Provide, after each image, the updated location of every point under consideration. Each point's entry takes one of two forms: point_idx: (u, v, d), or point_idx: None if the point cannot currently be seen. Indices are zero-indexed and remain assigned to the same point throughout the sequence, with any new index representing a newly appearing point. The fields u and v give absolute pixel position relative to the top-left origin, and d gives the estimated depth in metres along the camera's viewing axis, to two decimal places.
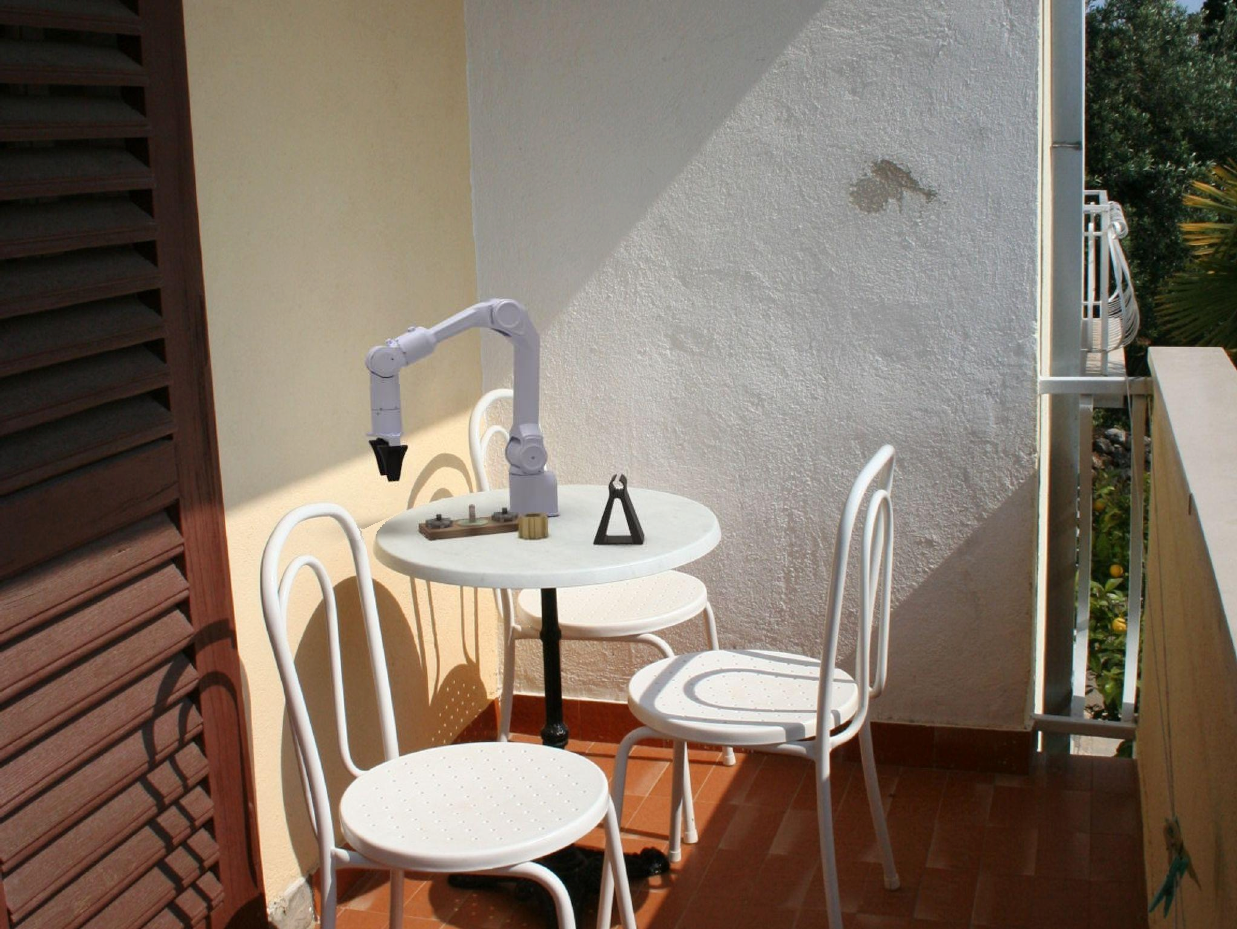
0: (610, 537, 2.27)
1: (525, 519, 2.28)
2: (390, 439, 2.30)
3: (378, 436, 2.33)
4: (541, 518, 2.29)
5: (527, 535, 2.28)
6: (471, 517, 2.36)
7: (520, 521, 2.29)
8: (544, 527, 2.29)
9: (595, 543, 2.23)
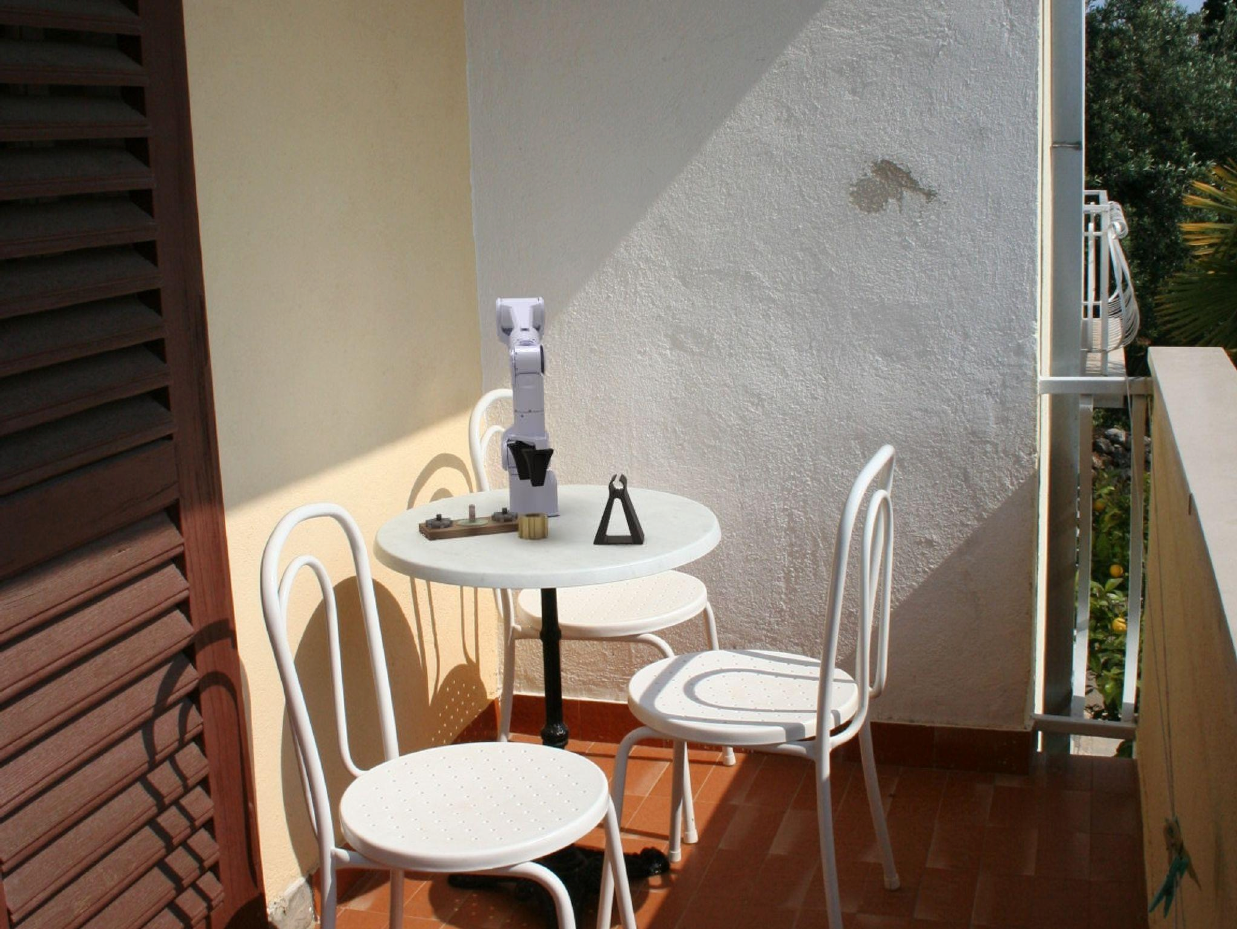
0: (610, 537, 2.27)
1: (525, 519, 2.28)
2: (537, 442, 2.21)
3: (522, 439, 2.24)
4: (541, 518, 2.29)
5: (527, 535, 2.28)
6: (471, 517, 2.36)
7: (520, 521, 2.29)
8: (544, 527, 2.29)
9: (595, 543, 2.23)
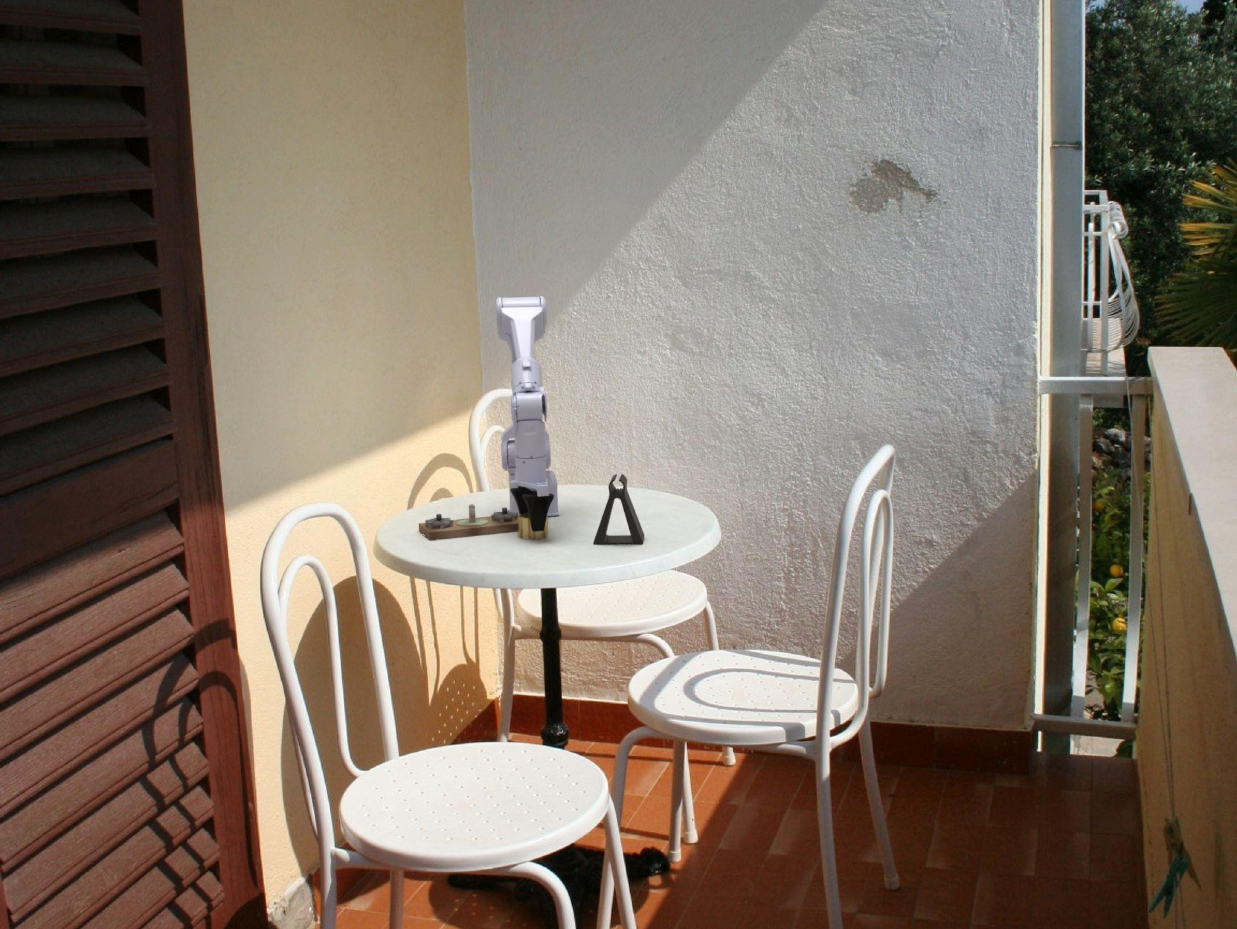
0: (610, 537, 2.27)
1: (525, 519, 2.28)
2: (539, 489, 2.22)
3: (524, 485, 2.26)
4: None
5: (527, 535, 2.28)
6: (471, 517, 2.36)
7: (520, 521, 2.29)
8: None
9: (595, 543, 2.23)
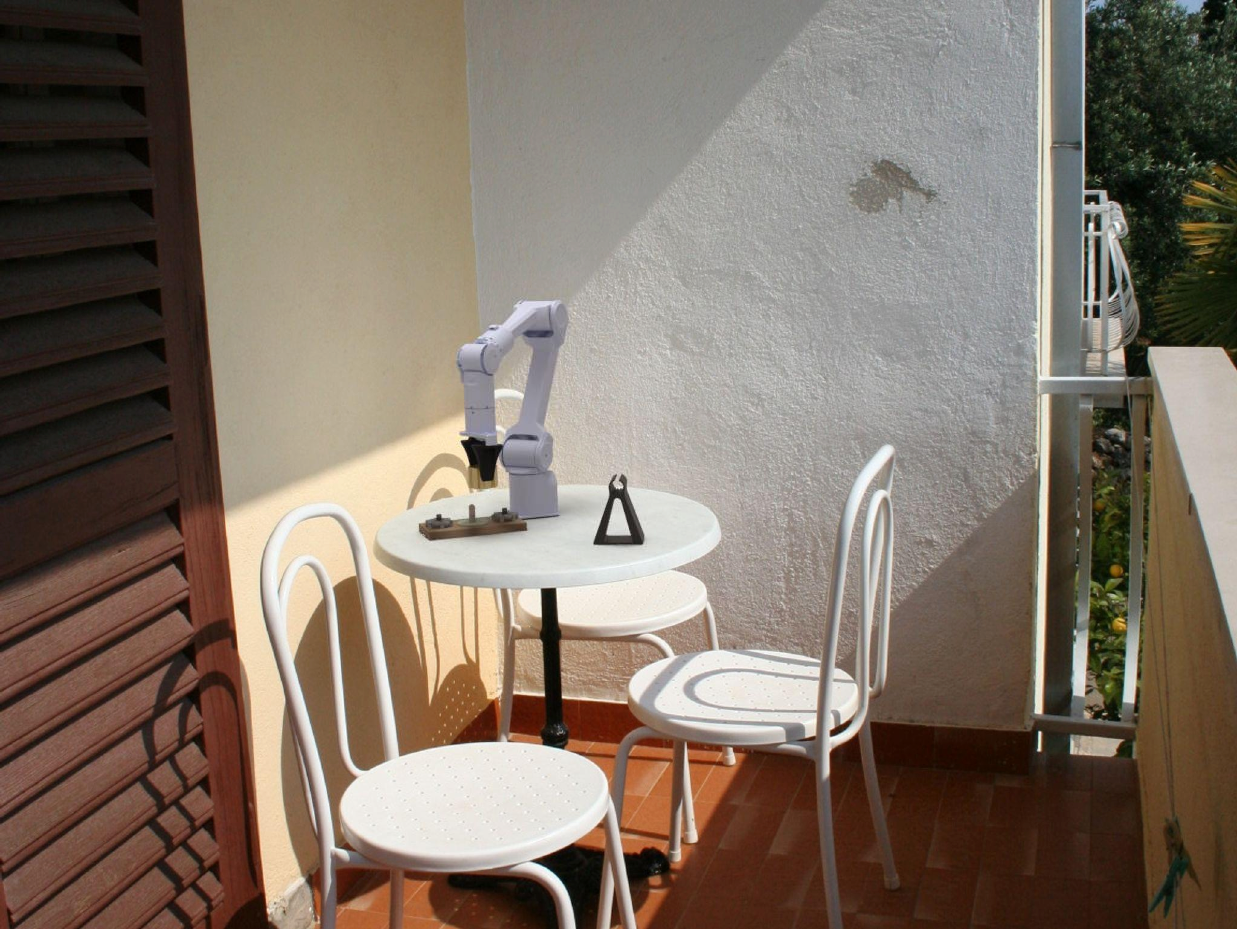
0: (610, 537, 2.27)
1: (474, 469, 2.31)
2: (487, 438, 2.26)
3: (473, 435, 2.29)
4: None
5: (476, 485, 2.31)
6: (471, 517, 2.36)
7: (470, 471, 2.32)
8: None
9: (595, 543, 2.23)
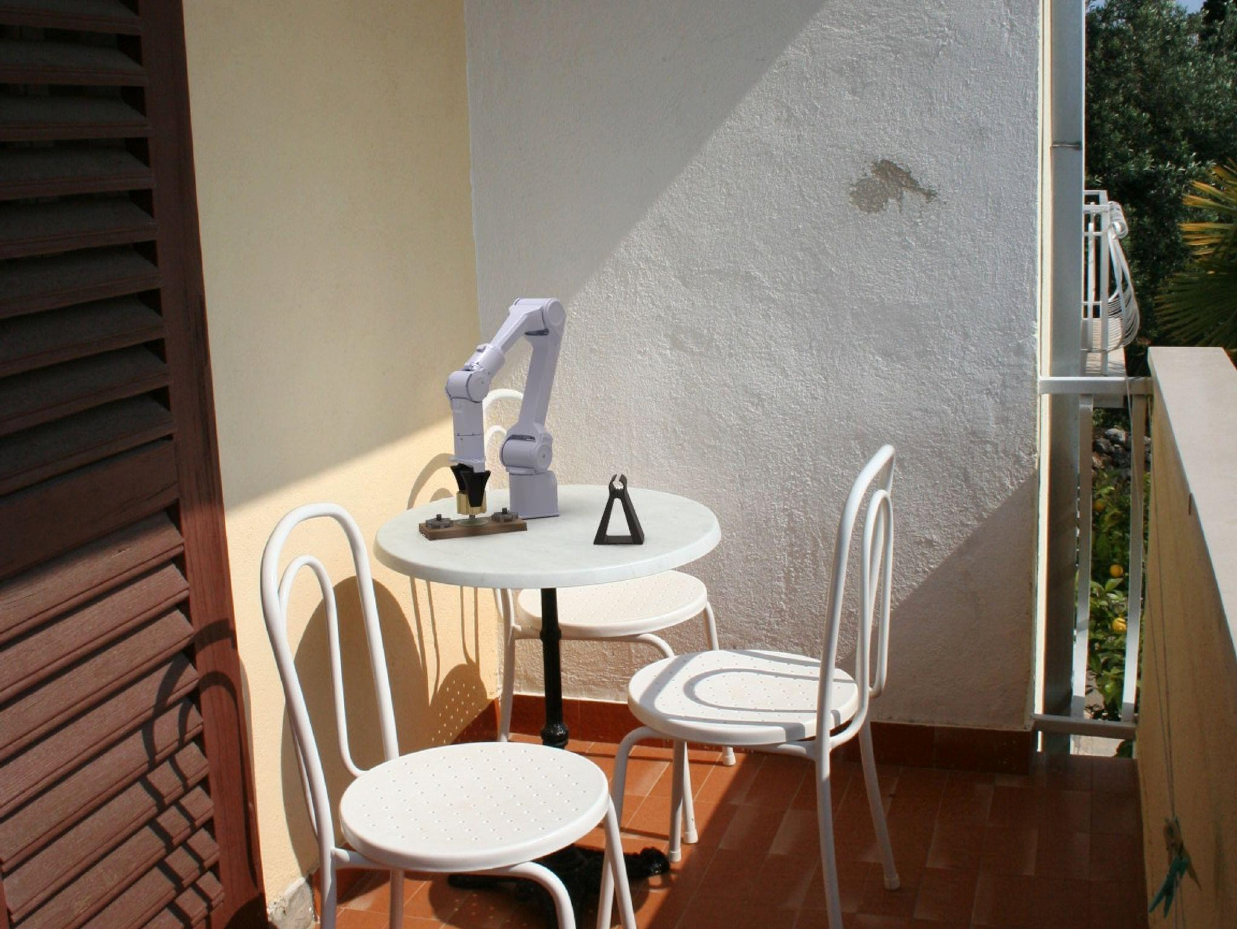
0: (610, 537, 2.27)
1: (463, 495, 2.33)
2: (475, 465, 2.28)
3: (462, 462, 2.31)
4: None
5: (465, 511, 2.33)
6: (471, 517, 2.36)
7: (458, 497, 2.34)
8: (482, 503, 2.34)
9: (595, 543, 2.23)
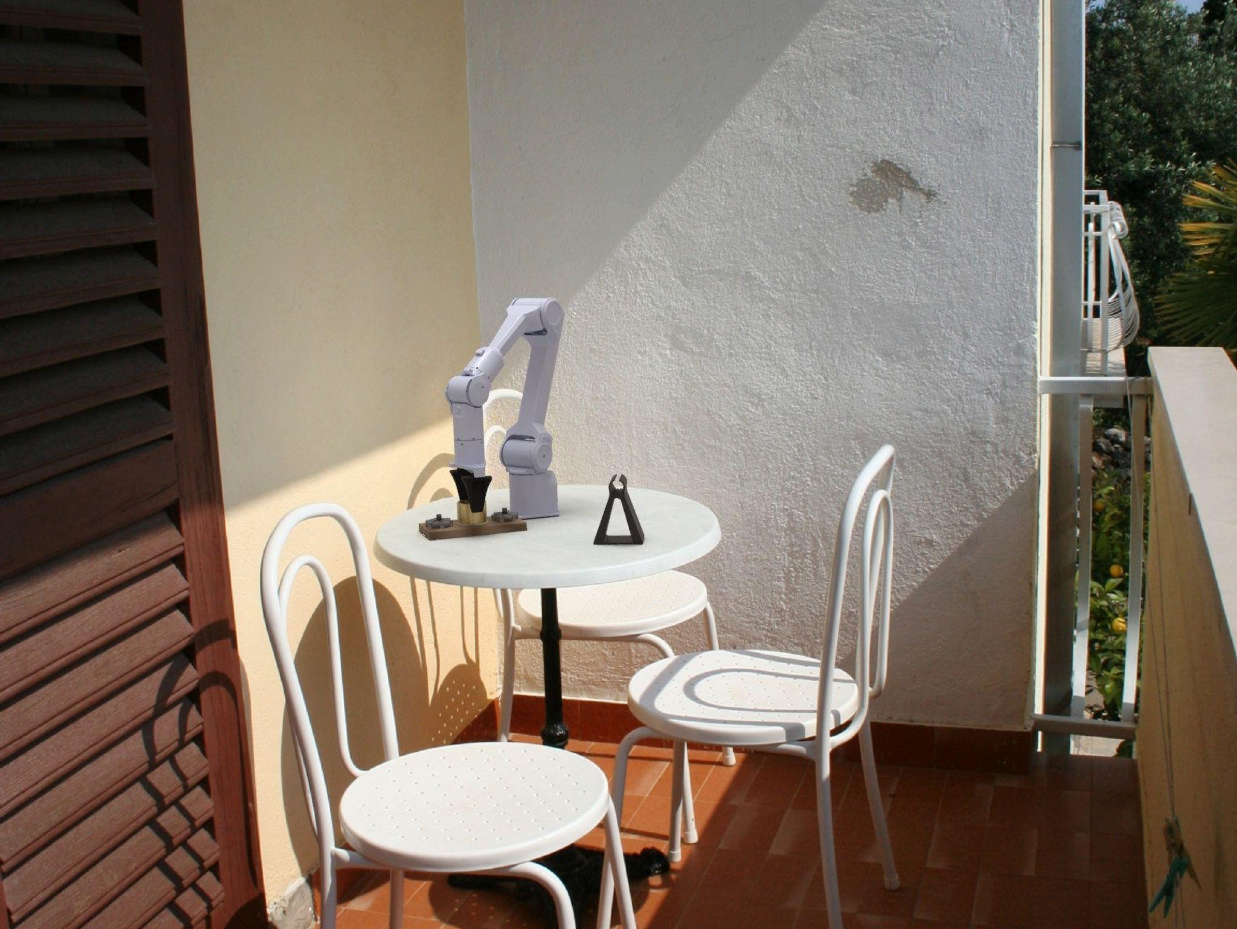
0: (610, 537, 2.27)
1: (463, 505, 2.33)
2: (475, 470, 2.28)
3: (462, 467, 2.31)
4: None
5: (465, 521, 2.34)
6: None
7: (459, 507, 2.35)
8: (482, 513, 2.35)
9: (595, 543, 2.23)
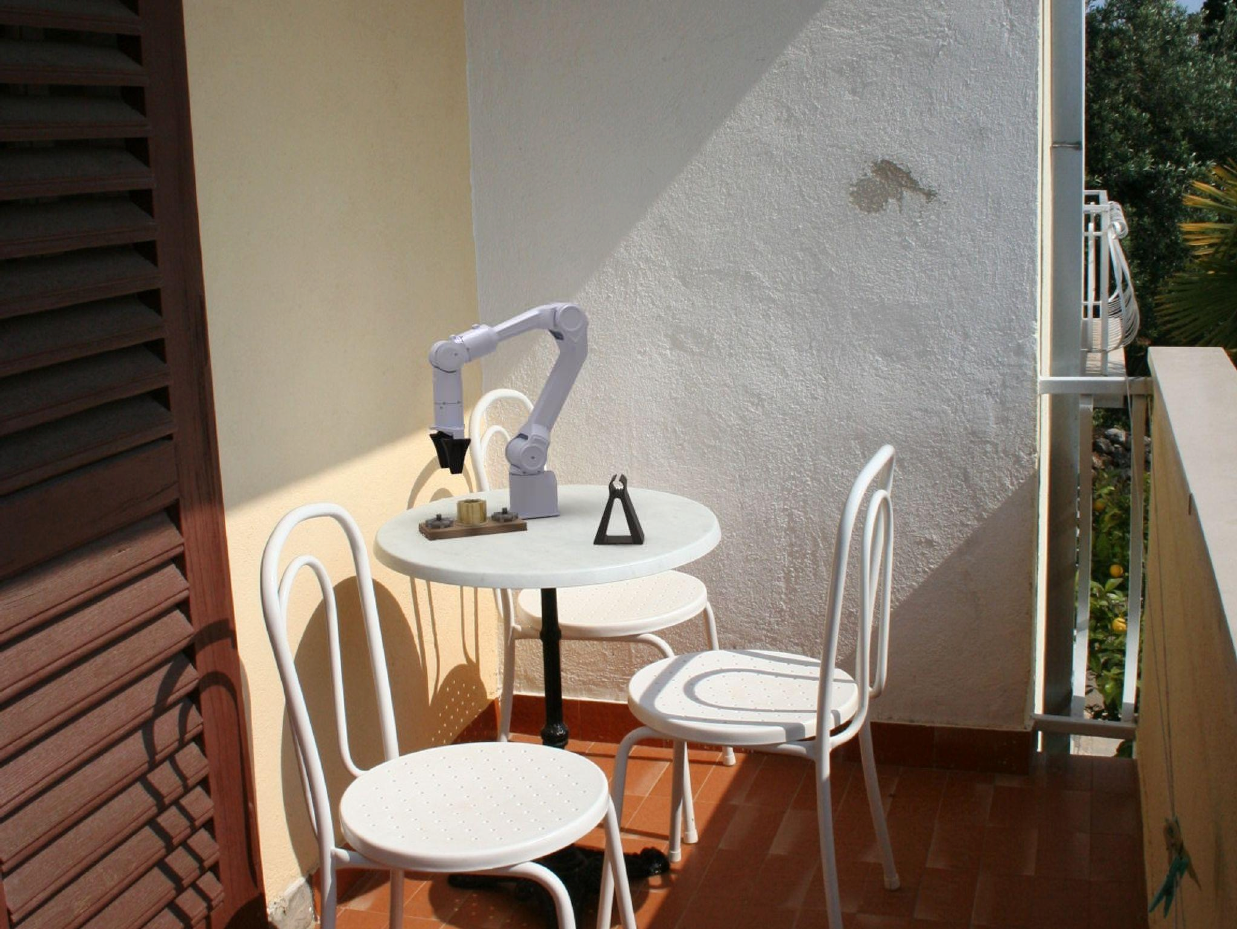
0: (610, 537, 2.27)
1: (463, 505, 2.33)
2: (455, 432, 2.35)
3: (441, 429, 2.38)
4: (479, 504, 2.34)
5: (465, 521, 2.34)
6: None
7: (459, 507, 2.35)
8: (482, 513, 2.35)
9: (595, 543, 2.23)
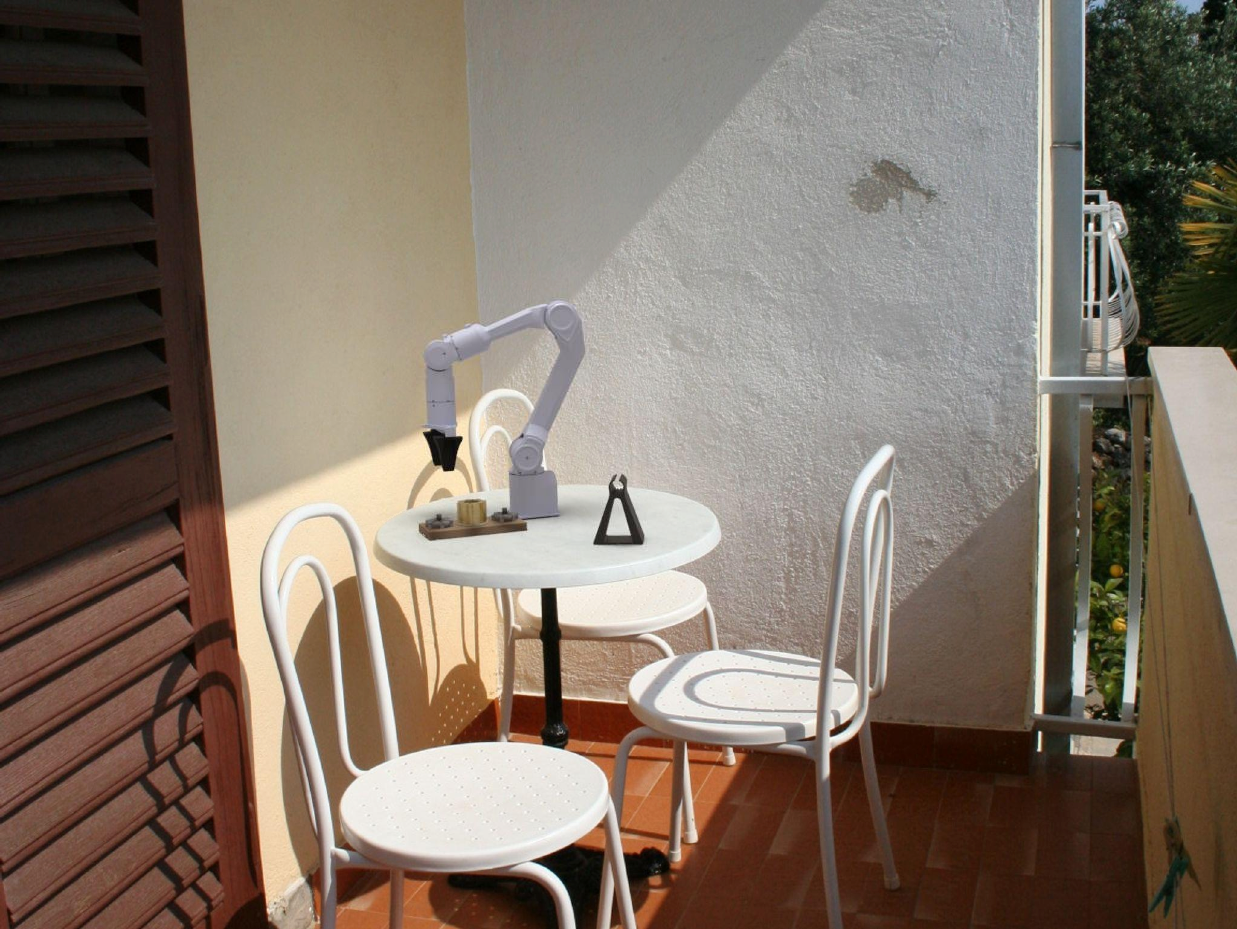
0: (610, 537, 2.27)
1: (463, 505, 2.33)
2: (446, 430, 2.38)
3: (434, 427, 2.42)
4: (479, 504, 2.34)
5: (465, 521, 2.34)
6: None
7: (459, 507, 2.35)
8: (482, 513, 2.35)
9: (595, 543, 2.23)
